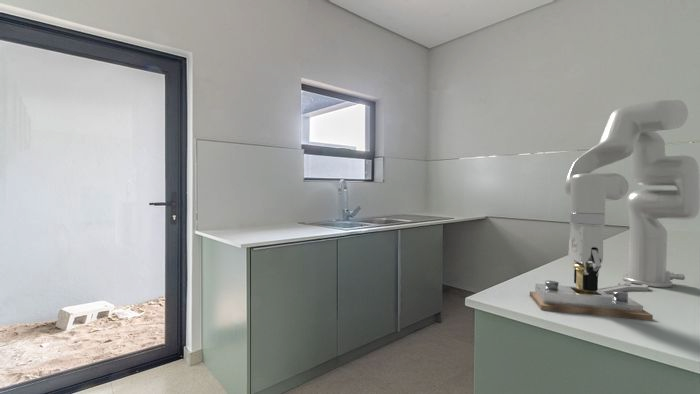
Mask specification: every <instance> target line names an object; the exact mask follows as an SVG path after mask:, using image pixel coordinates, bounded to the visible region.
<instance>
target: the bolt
mask: <svg viewBox="0 0 700 394" xmlns="http://www.w3.org/2000/svg"><path fill="white" fill-rule="evenodd" d="M589 267H590V266H588V269H589ZM572 268H573V269H577V270H576V284H575V287H576V293H579V294H592V295H594V291H589V290H584V289H583V274H585V273H584V263H583V264H582V263H575V262H574V263H572Z"/></svg>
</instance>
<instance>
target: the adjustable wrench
mask: <svg viewBox="0 0 700 394" xmlns="http://www.w3.org/2000/svg"><path fill="white" fill-rule="evenodd" d="M598 289H600V290H601V291H603V292H605V293H606V294H609V295H611V294H613V291H621V292H627V291H631V292H632V291H635V292H636V291H637V292H647V291H649V286H648V285H646V284H643V285H640V284H635V283H632V282H628V281H618V283H617V285H612V286H605V287H598ZM610 293H611V294H610Z"/></svg>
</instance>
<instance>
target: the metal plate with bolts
mask: <svg viewBox="0 0 700 394" xmlns="http://www.w3.org/2000/svg"><path fill="white" fill-rule="evenodd" d="M534 290H535V291H534V292H535V294H536V295H537V296H538V297H539V299H540V300H541V301H542V302H543V303H549V304H560V305H571V306H582V307H593V308H604V309H615V310H627V311H638V312H643V310H644V305H642V304H640V303H639V302H637V301H635V300H634V299H632V298H630V297H629V293H627V292H626V291H622V292H621V291H613V293H612V294H606V293H605V292H603V291H601V290H600V289H598V290H597V291H594V295H592V294H579V293H576V286H575V285H574V286H573V285H572V286H571V285H560V284H559V282H558V281H555V280H549V279H548V280H545V283H535V288H534Z"/></svg>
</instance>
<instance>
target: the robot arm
mask: <svg viewBox="0 0 700 394" xmlns="http://www.w3.org/2000/svg"><path fill="white" fill-rule="evenodd" d="M688 116H689V110H688V106H687V105H686V104H685V102H684V101H682V100H681V99H665V100H663V99H662V100H653V101H648V102H641V103H636V104H631V105H625V106H621V107H619V108H616V109H615V110H613V112H611V114H610V116H609V117H608V119H607V122H606V125H605V128H604V129H603V132H602V134H601V137H600V139H599V142H598V144H596V145H595V146H593V147H592V148H590V149H589V150H587V151H586V152H584V153H583V154H582V155H581V156H579V157H578V158H576V160H575V161H574V162H573V163H572V165H571V166H570V168H569V171H568V174H567V175H566V179H565V181H564V182H565V183H564V192H565V194H566V196H567V197H568V198H570V201H569V202H570V206H569V207H570V208H569V209H570V213H569V225H571V226H570V230H569V242H568V254H567V255H568V257H569V258H570V259H571V260H573V261H574V263H582V264H583V263H584V273H585V274H583V289H584V290H589V291H597V290H598V288H599V287H598V286H599V285H598V284H599V283H598V282H599V276H600V275H599V273H600V272H599V271H600V269H601V268H602V263H603V259H604V237H603V236H604V235H603V227H605V226H606V224H605V221H606V220H605V219H606V214H605V213H606V211H605V210H606V201H618V200H621V199H623V198H624V197H625V196H626V195H627V194H628V191H629V183H628V180H627V179H626V176H625V177H624V175H621V174H619V173H614V172H611V173H610V172H606V173H605V172H603V173H601V172H600V173H599V172H598V173H596V172H595V173H594V171H596V170H597V169H599V168H602V167H604V166H605V167H606V166H608V165H612V164H614V163H617V162H620V161H622V160H625V159H626V158H628V157H629V156H630V169H631V171H630V172H631V178H632V182H633V183H634V184H635V185H638V186H645V187H646V186H649V187H651V186H653V187H654V186H658V187H659V186H662V187H664V186H669V187H672V186H674V187H675V188H676V189H662V188H661V189H660V188H659V189H658V188H657V189H656V188H655V189H654V188H653V189H652V188H651V189H648V188H647V189H637V190H634V191H632V192H630V193H629V194H628V196H627V197H626V206H627V213H628V218H629V219H628V220H629V235H628V236H629V237H628V238H629V239H628V240H629V244H628V270H627V271H628V273H627V274H623V275H622V279H623V281H624V282H632V284H634V285H643V284H646V285H648V287H653V288H654V287H655V288H670V287H672V286H673V282H672V281H673V280H678V281H679V280H681V281H684V280H685V278H686V277H685V274H684V273H674V272H672V271H668V270H667V259H668V258H667V256H668V252H667V251H668V231H667V229H666V227H665V226H664V225H663V224H662V222H661V221H659V219H660V220H661V219H665V220H666V219H667V220H686V221H687V220H693V219H695V218H697V216H699V212H700V168H699V167H700V166H699V163H698V161H697V160H696V158H694V157H693V156H690V155H685V154H684V155H681V154H680V155H666V147H665V146H666V142H665V139H664V138H663V137H662V136H661V135H660V134H659V133H658V132H657V131H669V130H675V129H679V128H681V127H682V126H684V125H685V123H686V122H687V119H688V118H689V117H688ZM592 172H593V173H592ZM588 266H590V267H589V269H588ZM573 269H574V270H573V271H574V273H573V283H574V284H575V285H576V270H577V269H575V268H573Z"/></svg>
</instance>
